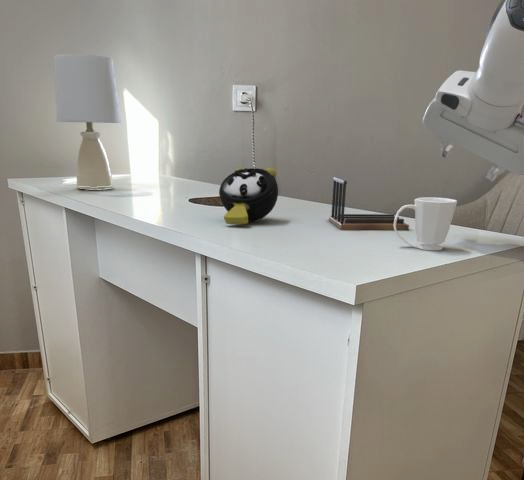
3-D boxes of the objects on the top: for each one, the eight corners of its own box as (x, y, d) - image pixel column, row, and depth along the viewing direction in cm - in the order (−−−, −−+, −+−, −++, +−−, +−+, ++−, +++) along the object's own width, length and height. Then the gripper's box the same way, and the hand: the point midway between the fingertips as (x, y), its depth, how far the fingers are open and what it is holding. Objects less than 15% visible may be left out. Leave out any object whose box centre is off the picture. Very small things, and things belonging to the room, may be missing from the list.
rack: (390, 220, 124) (395, 177, 120) (408, 230, 112) (414, 182, 109) (328, 220, 122) (331, 176, 119) (340, 229, 111) (344, 181, 108)
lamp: (128, 186, 185) (119, 62, 171) (122, 192, 168) (112, 55, 154) (70, 186, 183) (57, 60, 169) (58, 192, 166) (42, 52, 152)
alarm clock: (210, 239, 120) (200, 171, 120) (270, 236, 126) (260, 172, 126) (231, 222, 109) (219, 148, 109) (295, 220, 115) (284, 150, 116)
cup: (455, 252, 92) (462, 202, 89) (394, 250, 93) (399, 200, 90) (446, 244, 98) (452, 197, 95) (389, 242, 99) (393, 196, 96)
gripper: (563, 118, 87) (528, 181, 99) (448, 66, 93) (428, 132, 105) (544, 142, 85) (511, 203, 97) (428, 87, 91) (410, 151, 103)
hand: (467, 166), depth 101 cm, fingers open, 8 cm apart
